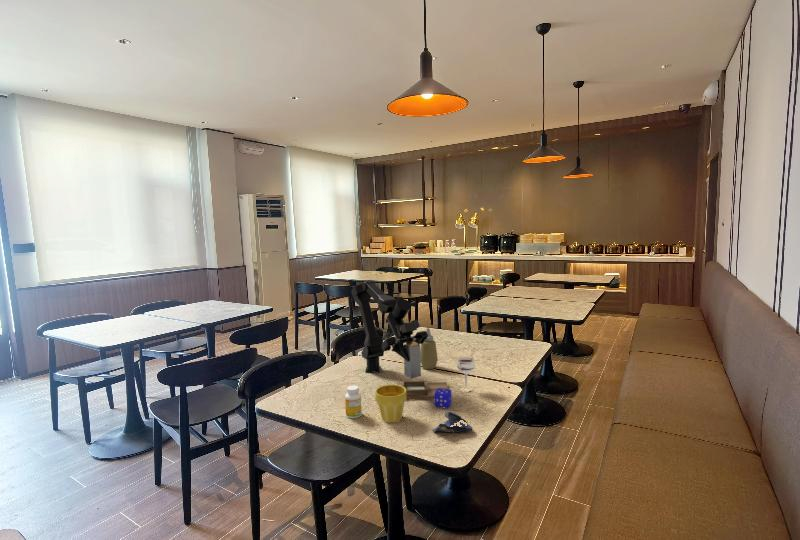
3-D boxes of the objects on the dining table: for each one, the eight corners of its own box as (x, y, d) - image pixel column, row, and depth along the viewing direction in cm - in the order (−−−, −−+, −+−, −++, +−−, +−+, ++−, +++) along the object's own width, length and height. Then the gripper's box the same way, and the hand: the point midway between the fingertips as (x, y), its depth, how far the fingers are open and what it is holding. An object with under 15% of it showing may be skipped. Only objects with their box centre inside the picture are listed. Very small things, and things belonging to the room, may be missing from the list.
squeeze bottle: (441, 366, 190) (440, 327, 188) (432, 371, 183) (431, 331, 182) (425, 363, 195) (424, 325, 193) (416, 368, 188) (415, 329, 186)
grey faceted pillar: (404, 375, 160) (403, 342, 159) (414, 372, 162) (413, 340, 161) (410, 378, 156) (410, 345, 155) (420, 376, 159) (420, 343, 157)
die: (448, 408, 146) (448, 394, 145) (434, 407, 148) (434, 393, 147) (451, 403, 151) (451, 389, 150) (438, 401, 152) (437, 388, 152)
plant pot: (382, 428, 133) (381, 398, 132) (371, 415, 142) (370, 387, 141) (412, 421, 137) (411, 392, 136) (399, 409, 146) (398, 382, 145)
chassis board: (396, 385, 168) (396, 378, 168) (446, 384, 168) (446, 377, 168) (395, 399, 154) (395, 392, 154) (450, 398, 154) (450, 390, 154)
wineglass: (478, 389, 162) (478, 359, 161) (468, 394, 157) (468, 363, 156) (463, 385, 167) (463, 356, 165) (453, 390, 162) (453, 360, 160)
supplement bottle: (347, 411, 146) (346, 384, 145) (362, 411, 145) (361, 384, 144) (344, 418, 140) (343, 390, 139) (360, 418, 140) (359, 390, 139)
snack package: (435, 420, 138) (429, 436, 127) (439, 402, 137) (432, 416, 126) (472, 430, 135) (469, 447, 124) (475, 411, 134) (472, 427, 123)
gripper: (384, 317, 155) (400, 353, 147) (425, 310, 165) (443, 344, 157) (374, 333, 163) (390, 368, 155) (414, 326, 173) (430, 359, 165)
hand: (414, 359), depth 158 cm, fingers closed on grey faceted pillar, 4 cm apart
